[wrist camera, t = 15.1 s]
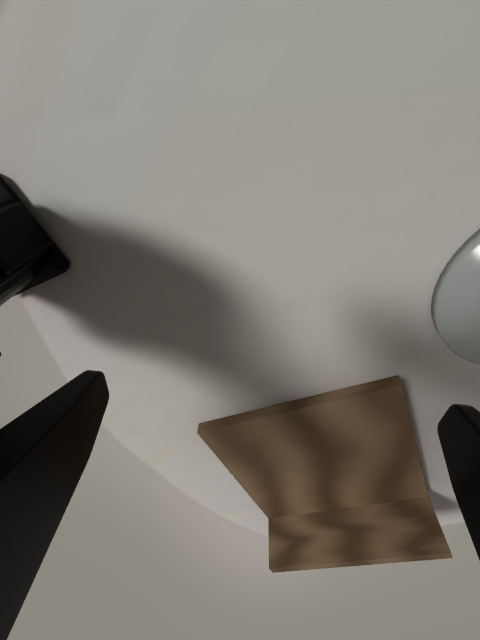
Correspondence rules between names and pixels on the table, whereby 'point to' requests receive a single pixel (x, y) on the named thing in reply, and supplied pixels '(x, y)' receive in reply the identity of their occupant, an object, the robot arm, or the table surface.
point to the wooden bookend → (334, 478)
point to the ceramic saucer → (460, 301)
